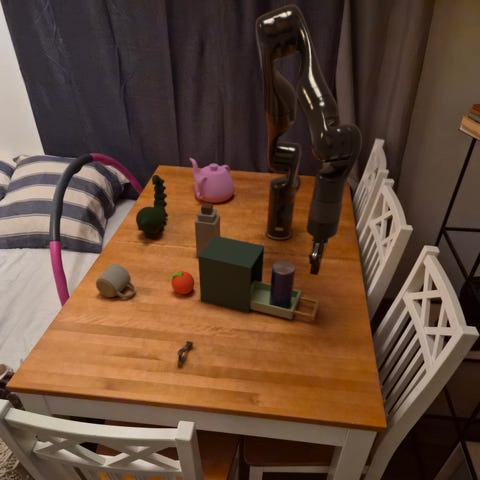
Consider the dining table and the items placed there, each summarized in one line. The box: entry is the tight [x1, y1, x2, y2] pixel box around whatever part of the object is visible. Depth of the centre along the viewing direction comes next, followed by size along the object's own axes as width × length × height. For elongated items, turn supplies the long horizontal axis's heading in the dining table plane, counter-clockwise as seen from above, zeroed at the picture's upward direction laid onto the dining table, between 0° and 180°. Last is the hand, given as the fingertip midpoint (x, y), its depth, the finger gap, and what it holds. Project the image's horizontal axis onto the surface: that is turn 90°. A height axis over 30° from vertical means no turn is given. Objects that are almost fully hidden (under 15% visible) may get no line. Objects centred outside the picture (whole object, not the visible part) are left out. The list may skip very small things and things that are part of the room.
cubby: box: [197, 235, 265, 314], centre depth 119 cm, size 15×12×16 cm
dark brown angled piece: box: [176, 340, 194, 367], centre depth 103 cm, size 2×8×4 cm, turn 165°
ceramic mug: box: [95, 263, 136, 299], centre depth 121 cm, size 11×8×8 cm
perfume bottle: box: [194, 202, 221, 259], centre depth 135 cm, size 7×7×18 cm
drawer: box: [250, 280, 321, 321], centre depth 118 cm, size 21×10×3 cm, turn 70°
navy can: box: [269, 260, 296, 309], centre depth 115 cm, size 6×6×13 cm
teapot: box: [189, 157, 235, 204], centre depth 171 cm, size 22×22×14 cm
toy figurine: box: [135, 174, 169, 240], centre depth 147 cm, size 9×19×25 cm
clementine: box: [167, 270, 195, 295], centre depth 122 cm, size 8×7×7 cm
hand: (314, 273), depth 108 cm, fingers closed
